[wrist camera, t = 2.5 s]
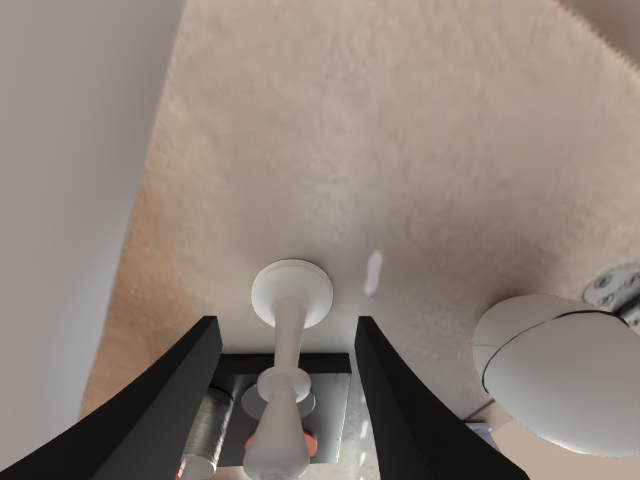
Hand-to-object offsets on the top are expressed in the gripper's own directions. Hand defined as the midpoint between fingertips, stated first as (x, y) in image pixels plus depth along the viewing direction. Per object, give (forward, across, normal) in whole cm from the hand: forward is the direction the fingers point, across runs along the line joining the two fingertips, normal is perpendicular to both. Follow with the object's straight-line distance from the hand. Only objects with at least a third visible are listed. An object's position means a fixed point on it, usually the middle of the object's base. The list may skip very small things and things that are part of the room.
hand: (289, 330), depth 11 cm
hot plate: (+3, +3, +12) cm, 12 cm away
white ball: (+3, -13, +1) cm, 13 cm away
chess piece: (+3, 0, 0) cm, 3 cm away
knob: (+1, +6, +8) cm, 10 cm away
